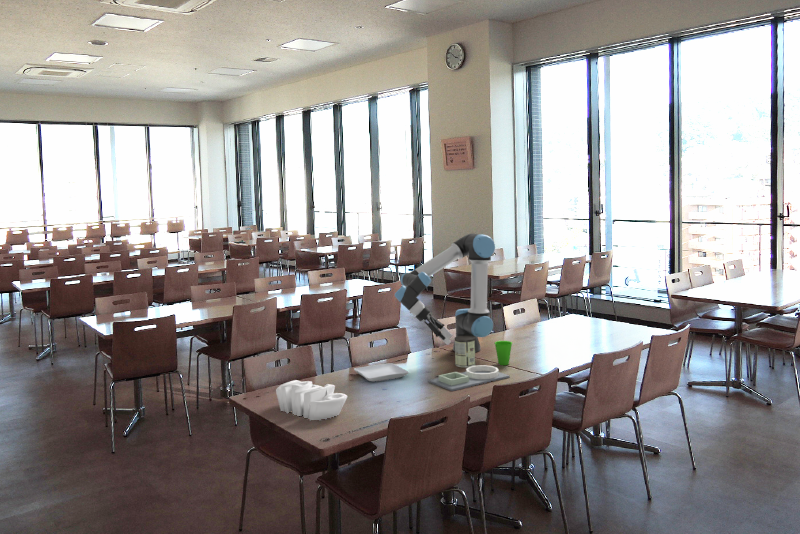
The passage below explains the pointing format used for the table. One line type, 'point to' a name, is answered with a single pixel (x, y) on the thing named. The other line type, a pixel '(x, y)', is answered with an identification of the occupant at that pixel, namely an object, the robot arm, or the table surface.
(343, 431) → the table surface
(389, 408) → the table surface
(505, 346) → the cup
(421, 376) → the table surface
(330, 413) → the wavy white extrusion
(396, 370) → the salad plate
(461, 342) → the coffee can
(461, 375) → the sorting board
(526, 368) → the table surface
